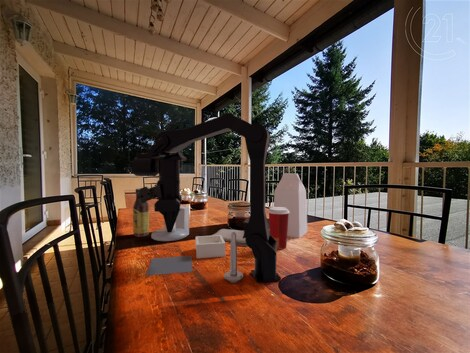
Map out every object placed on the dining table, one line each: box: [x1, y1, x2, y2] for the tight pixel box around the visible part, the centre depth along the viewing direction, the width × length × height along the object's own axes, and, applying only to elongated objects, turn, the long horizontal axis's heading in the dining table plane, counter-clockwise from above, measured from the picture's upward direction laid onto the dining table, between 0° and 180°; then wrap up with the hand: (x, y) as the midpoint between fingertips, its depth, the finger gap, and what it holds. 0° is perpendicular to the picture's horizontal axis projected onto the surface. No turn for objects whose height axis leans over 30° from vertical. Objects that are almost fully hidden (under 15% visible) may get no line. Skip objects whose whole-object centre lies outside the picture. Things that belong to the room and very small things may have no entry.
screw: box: [223, 232, 244, 284], centre depth 61 cm, size 13×5×5 cm
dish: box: [195, 235, 226, 259], centre depth 81 cm, size 9×9×5 cm
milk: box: [273, 172, 308, 239], centre depth 108 cm, size 12×12×26 cm
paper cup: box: [267, 206, 290, 250], centre depth 89 cm, size 8×8×14 cm
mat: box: [145, 255, 193, 277], centre depth 71 cm, size 12×12×1 cm
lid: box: [151, 221, 188, 242], centre depth 71 cm, size 10×10×4 cm
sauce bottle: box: [132, 187, 150, 238], centre depth 103 cm, size 6×6×20 cm
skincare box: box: [175, 206, 190, 236], centre depth 104 cm, size 6×4×12 cm
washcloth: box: [211, 228, 248, 247], centre depth 98 cm, size 12×18×3 cm, turn 69°
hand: (169, 230), depth 71 cm, fingers closed on lid, 3 cm apart
